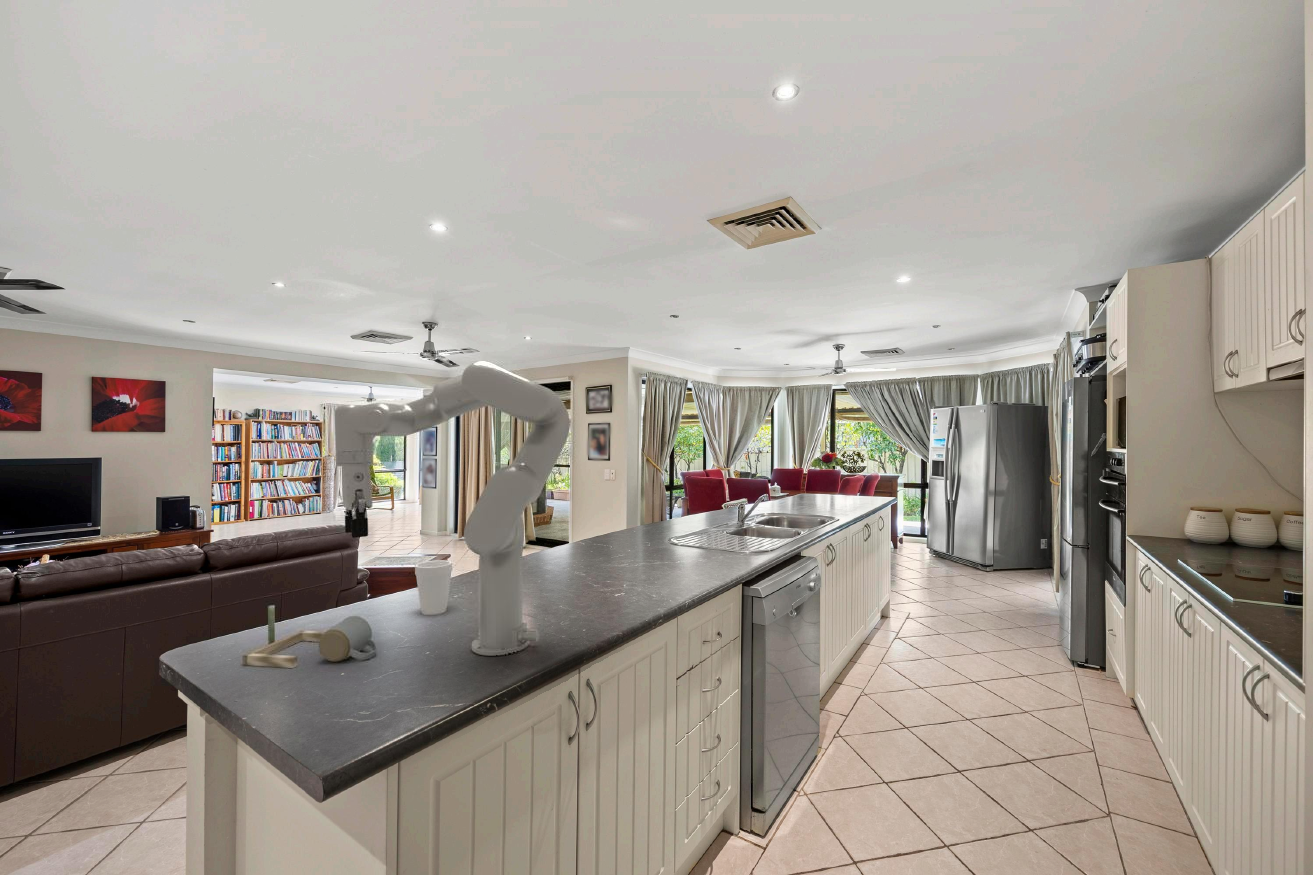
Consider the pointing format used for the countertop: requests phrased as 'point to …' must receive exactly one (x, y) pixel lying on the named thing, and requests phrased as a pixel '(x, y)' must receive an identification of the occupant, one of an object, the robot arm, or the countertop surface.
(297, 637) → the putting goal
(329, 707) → the countertop surface
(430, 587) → the foam cup
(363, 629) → the ceramic mug
